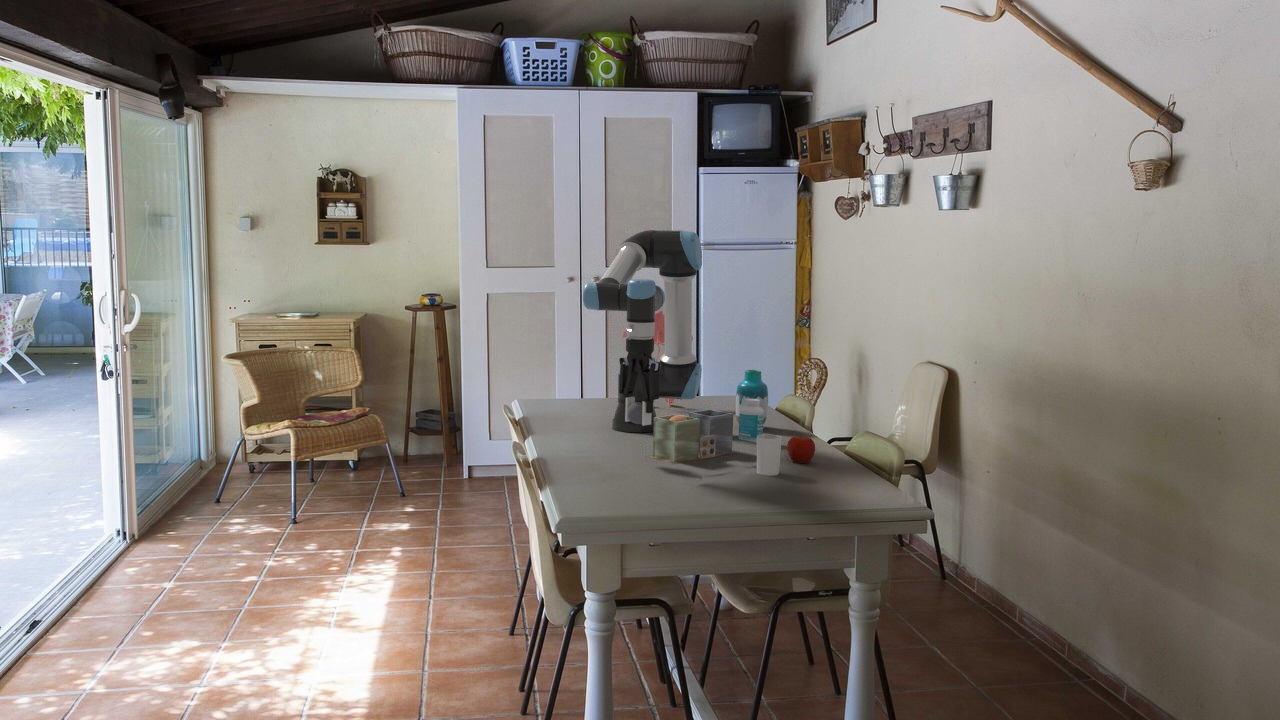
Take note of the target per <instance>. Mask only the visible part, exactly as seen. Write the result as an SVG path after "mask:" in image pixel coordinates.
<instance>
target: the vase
mask: <svg viewBox="0 0 1280 720" xmlns="http://www.w3.org/2000/svg"><path fill="white" fill-rule="evenodd" d="M743 376H744V377H743V380H741V381H740V382H739V383H738V384H737V387H736V393H735V419H736V422H737V424H738V425H739V417H740V409H741V407H743V406H745V403H744V402H745V399H758V400H760V405H759V407H761V408H763V410H764V422H763V426H764V424H765V423H766V421H767V418H768V417H767V416H768V407H769V391H768V390H769V389H768V385H767V384H766V383H765V382H763V380H762V371H761V370H759V369H746V370H744V375H743Z"/></svg>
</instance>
